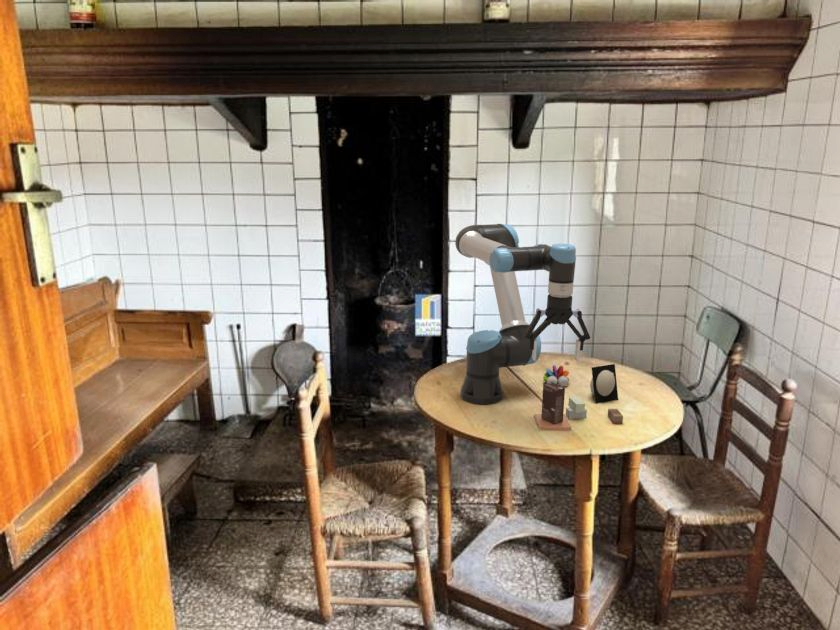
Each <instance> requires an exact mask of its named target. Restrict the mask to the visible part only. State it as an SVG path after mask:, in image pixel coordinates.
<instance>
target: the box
mask: <svg viewBox="0 0 840 630" xmlns="http://www.w3.org/2000/svg"><path fill="white" fill-rule="evenodd" d="M565 393H566V388H565V386H564V387H562V386H560V385H559V384H558V383H557V384H555V383H553V382H550V383H547V382H546V383H544V384H542V398H541V399H542V400H541V414H542V415H541V418H542V419H544V420H546V421H548V422H550V423H552V424H554V425H555V424H558V423H561V422H563V414H564V412H565V411H564V409H565Z"/></svg>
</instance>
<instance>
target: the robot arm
mask: <svg viewBox="0 0 840 630" xmlns="http://www.w3.org/2000/svg"><path fill="white" fill-rule="evenodd" d="M455 237H456V238H455V240H454V241H455V242H454V244H455V248H456V251H458V253H459V254H460V255H462V256H464V257H466V258H470V259H471V258H472V259H473V258H476V259H478V260H479V261H483V262H484V263H485V264H486V265H488V266H489V269H490V274H491V279H492V284H493V290H494V293H495V299H496V302H497V303H496V304H497V309H498V312H499V313H498V314H499V318H500V323H501V327H500V329H499V330H498V331H497V330H494V329H493V330H491V329H490V330H488V329H485V330H479V331H476V332H474V333H471V334H470V335H469V336H468V338H467V343H466V367H465V369H466V373H465V377H464V380H463V383H462V386H461V388H460V397H461V398H462V400H464V401H466V402H468V403H470V404H477V405H492V404H497V403H500V402H501V401H502V400H503V398H504V389H503V386H502V382H501V379H500V369H501V368H511V367H512V368H513V367H519V366H524V367H525V366H527V365H532V364H535V363H537V361H538V360H539V358H540V355H541V352H542V339H541V336H540V334H542V333H543V332H544V331H545V329H547V328H548V327H549V326H550V325H551V324H553V325H564V324H567V325H568V326H569V328H570V329H571V330H572V331H573V333H574V334H575V335H576V337H577V338H576V339H575V348H574V349H575V351H574V360H575V361H576V362H580V353H581V351H582V352H583V350H584V344H585V341H587V340H590V339H591V336H590V333H589V331H588V329H587V327H586V324H585V322H584V320H583V313H582V311H581V309H579V308H577V309H576V310H572V307H573V294H574V282H575V271H576V260H577V256H576V255H577V254H576V253H577V251H576V250H577V249H576V246H575V245H573V244H568V243H554V244H552V245H551V246H550V245H548V244H545V243H544V244H543V243H537V244H535V245H533V246H521V247H520V246H519V243H520V239H519V235H518V233H517V231H516V229H515V227H513V226H512V225H511V224H509V223H508V224H507V223H506V224H505V223H496V224H495V223H493V224H471V225H468V226H466V227H464V228H462V229H460V231H459V232H458V233H457V235H456V236H455ZM527 271H545V272H548V286H547V293H548V295H547V301H546V309H545V310H544V309H541V308H538V307H537V308H536V309H535V315H534V317H533V319H532V320H531V321H530V324H529V323H528V322H526V317H525V314H524V309H523V304H522V299H521V294H520V289H519V285H518V279H517V276H516V272H527ZM544 315H545V316H546V318H545V319H544V320H543V322H541V324H539V325H538V323H539V322H540V320H541V318H542V317H543V316H544ZM572 316H574V317H575V318H576V319H577V321H578V324H579V326H580V328H581V331H582V333H583V334H581V332H580V331H579V330H578V329H577V328H576V326H575V325H574V324H573V323H572V321H571V320H570V319H571V318H572ZM536 326H537V327H536Z"/></svg>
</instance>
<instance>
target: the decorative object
mask: <svg viewBox="0 0 840 630" xmlns="http://www.w3.org/2000/svg"><path fill="white" fill-rule="evenodd" d="M591 374H592V375H591V376H592V378H591V380H590V385H589V388H590V392H591V394H592V396H594V397H593V398H594V404H595V405H597V404H601V403H603V404H604V403H608V402H614V401H618V400H619V393H618V383H617V382H618V381H617V371H616V363H612V364H606V365H605V364H604V365H598V366H593V367H591Z"/></svg>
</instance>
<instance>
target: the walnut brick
mask: <svg viewBox="0 0 840 630" xmlns="http://www.w3.org/2000/svg"><path fill="white" fill-rule="evenodd" d="M607 418H608V419H609V421H610V422H611V423H612V424H613V425H623V421H624V415H623V414H622V413H621V412H620V410H619V409H618V408H607Z"/></svg>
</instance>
